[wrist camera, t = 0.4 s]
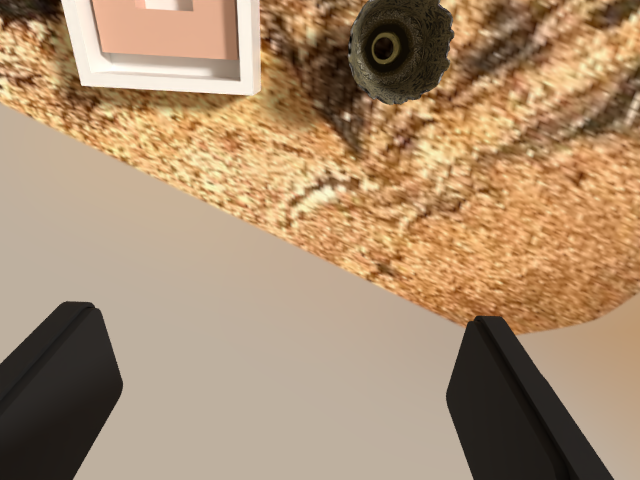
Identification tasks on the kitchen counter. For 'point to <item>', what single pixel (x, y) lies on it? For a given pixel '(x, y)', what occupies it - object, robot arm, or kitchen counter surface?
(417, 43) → the cup
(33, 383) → the robot arm
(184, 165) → the kitchen counter surface
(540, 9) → the kitchen counter surface
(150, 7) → the open-top box
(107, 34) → the bored plate
